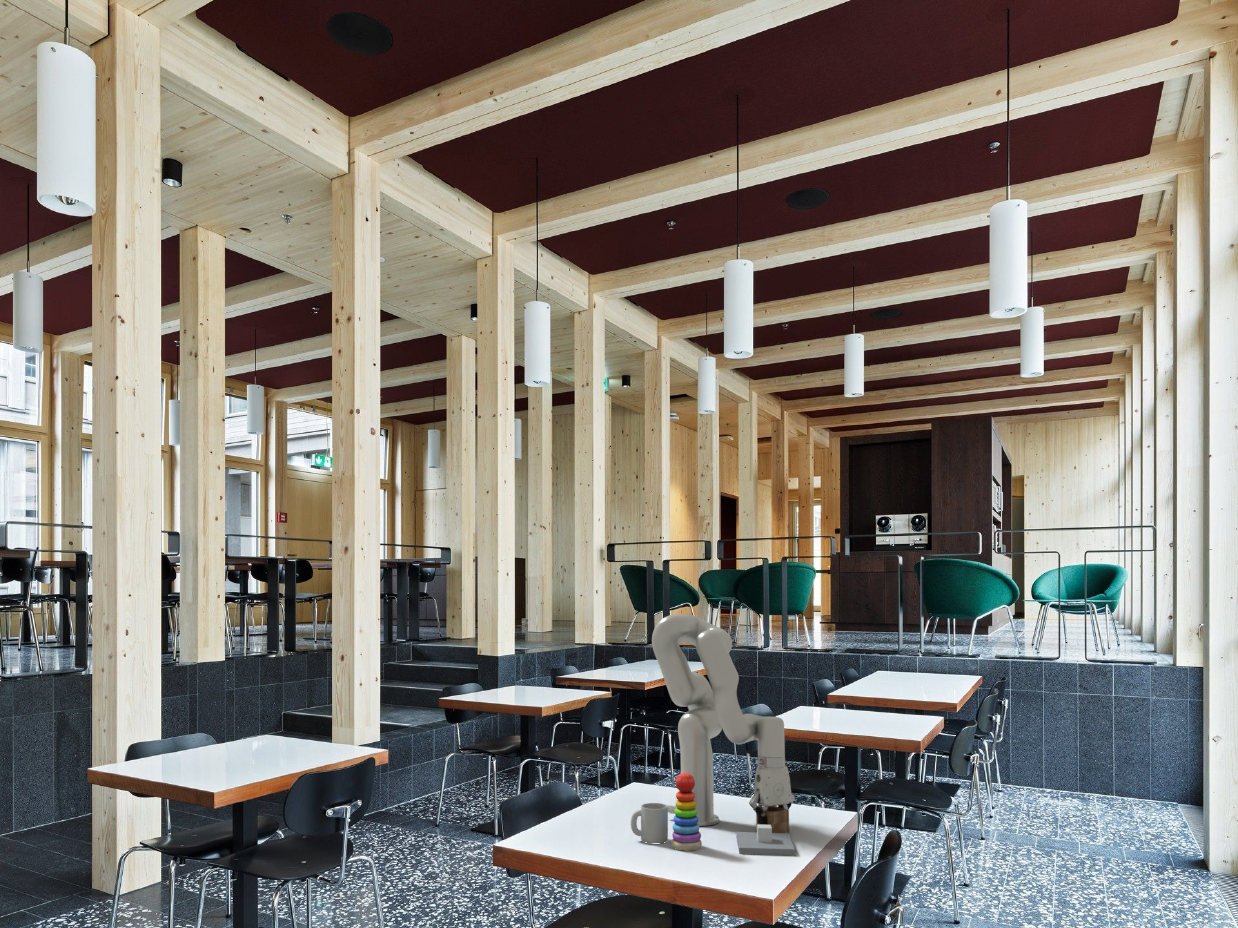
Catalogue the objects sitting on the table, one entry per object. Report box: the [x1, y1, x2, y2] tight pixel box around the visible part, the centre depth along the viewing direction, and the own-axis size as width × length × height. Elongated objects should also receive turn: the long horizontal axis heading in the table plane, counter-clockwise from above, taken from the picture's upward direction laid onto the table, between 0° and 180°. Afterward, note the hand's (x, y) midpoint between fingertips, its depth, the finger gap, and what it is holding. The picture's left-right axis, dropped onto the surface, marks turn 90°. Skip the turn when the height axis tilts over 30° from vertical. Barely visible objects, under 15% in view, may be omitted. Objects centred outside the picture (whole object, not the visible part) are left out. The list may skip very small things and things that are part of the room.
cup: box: [630, 802, 669, 844], centre depth 232 cm, size 7×10×9 cm
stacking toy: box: [671, 772, 703, 851], centre depth 227 cm, size 8×8×19 cm
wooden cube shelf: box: [755, 806, 790, 834], centre depth 242 cm, size 6×6×6 cm
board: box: [735, 824, 796, 856], centre depth 227 cm, size 14×15×5 cm
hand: (772, 828), depth 242 cm, fingers closed on wooden cube shelf, 6 cm apart
